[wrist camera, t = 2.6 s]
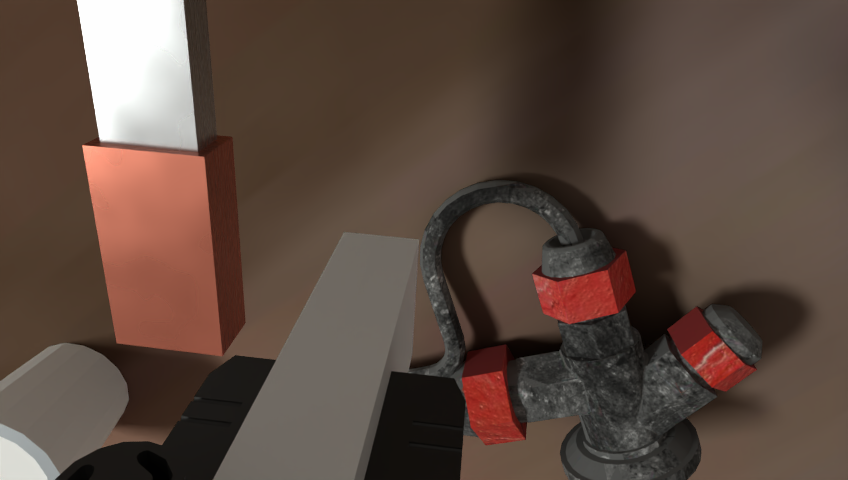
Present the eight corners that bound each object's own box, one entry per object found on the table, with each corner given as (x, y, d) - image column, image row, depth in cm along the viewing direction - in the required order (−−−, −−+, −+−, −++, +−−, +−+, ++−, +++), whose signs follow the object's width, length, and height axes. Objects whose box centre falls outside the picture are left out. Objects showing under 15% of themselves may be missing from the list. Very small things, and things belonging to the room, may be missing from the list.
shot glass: (5, 334, 36) (-101, 418, 30) (119, 331, 35) (33, 418, 29) (47, 431, 39) (-42, 527, 32) (153, 431, 38) (82, 530, 31)
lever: (35, -337, 14) (-29, -373, 12) (217, -331, 13) (177, -368, 12) (135, 309, 21) (103, 341, 19) (257, 324, 20) (235, 357, 19)
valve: (702, 110, 29) (761, 406, 32) (209, 243, 36) (300, 471, 39) (737, 131, 23) (805, 490, 26) (137, 284, 30) (253, 549, 33)
